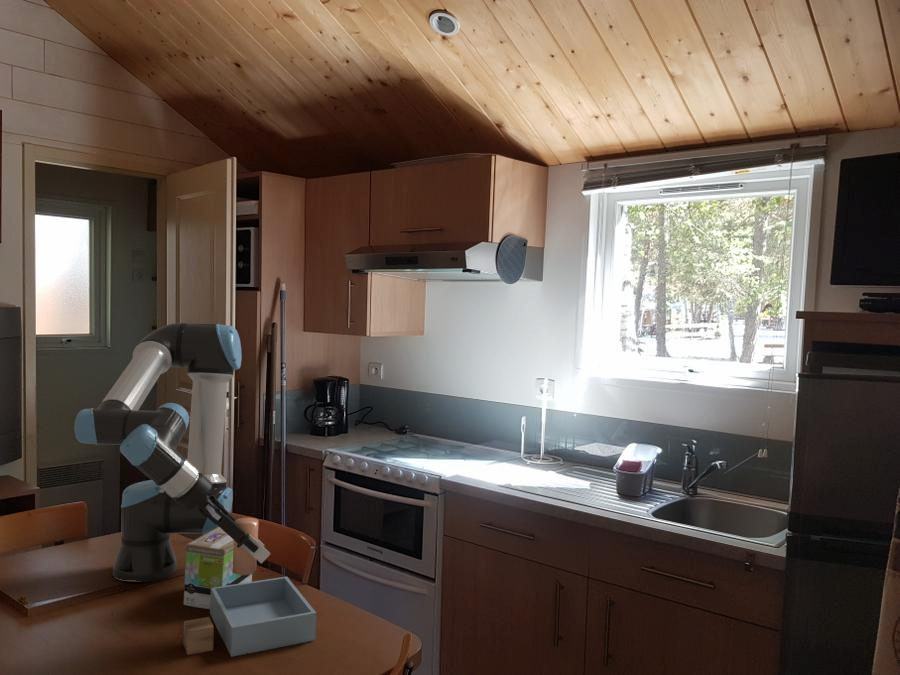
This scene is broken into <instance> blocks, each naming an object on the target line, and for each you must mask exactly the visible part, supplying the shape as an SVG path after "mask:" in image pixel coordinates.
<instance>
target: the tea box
mask: <svg viewBox="0 0 900 675" xmlns="http://www.w3.org/2000/svg"><path fill="white" fill-rule="evenodd" d="M233 548H234V540H233V539H232V538H231V537H230V536H229V535H228V534H227V533H225V532H224V531H223V530H222V529H221V528H220V527H217V528H215V529H214V530H212V531H210V532H208V533H206V534H205V535H201V536H199V537H198V538H196V539H194V540H192V541H190V542H188V543H187V544H186V548H185V549H186V551H185V568H184V569H185V570H184V590H183V591H184V592H183V605H184V606H188V607H192V608H198V609H204V610H210V596H211V588H214V587H221V586H227V585H234V584H240V583H247V582H253V574H249V575H237V574H234V573H233V572H232V570H233Z"/></svg>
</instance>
